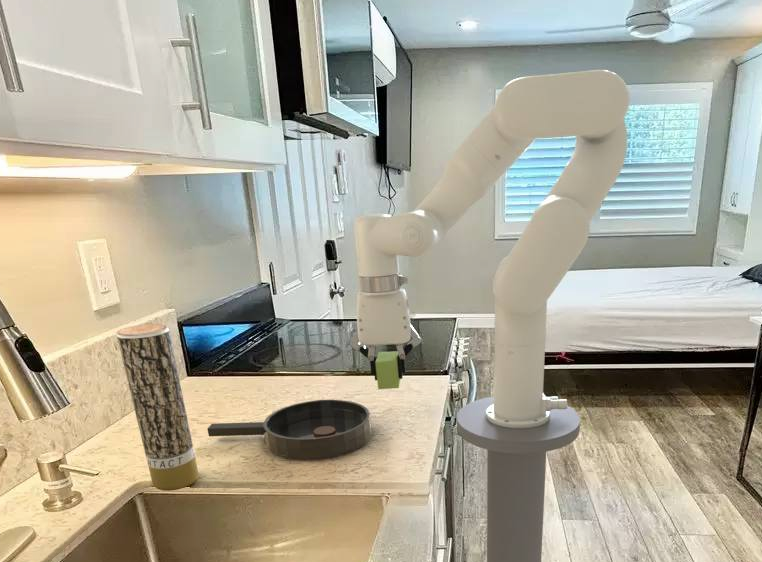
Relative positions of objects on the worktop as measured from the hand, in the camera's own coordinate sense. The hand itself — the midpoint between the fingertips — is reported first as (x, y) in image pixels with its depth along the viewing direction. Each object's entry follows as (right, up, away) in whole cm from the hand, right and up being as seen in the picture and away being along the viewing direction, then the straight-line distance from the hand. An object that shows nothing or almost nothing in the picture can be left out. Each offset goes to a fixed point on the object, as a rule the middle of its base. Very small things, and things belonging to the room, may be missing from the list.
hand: (389, 376), depth 113 cm
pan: (-12, -12, -6) cm, 18 cm away
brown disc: (-11, -11, -6) cm, 17 cm away
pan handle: (-27, -11, -7) cm, 30 cm away
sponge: (0, -1, +1) cm, 1 cm away
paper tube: (-32, -18, -21) cm, 43 cm away
